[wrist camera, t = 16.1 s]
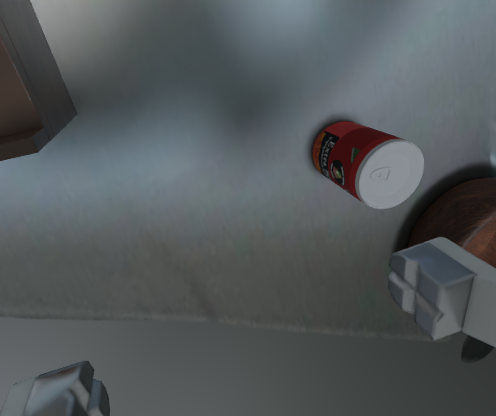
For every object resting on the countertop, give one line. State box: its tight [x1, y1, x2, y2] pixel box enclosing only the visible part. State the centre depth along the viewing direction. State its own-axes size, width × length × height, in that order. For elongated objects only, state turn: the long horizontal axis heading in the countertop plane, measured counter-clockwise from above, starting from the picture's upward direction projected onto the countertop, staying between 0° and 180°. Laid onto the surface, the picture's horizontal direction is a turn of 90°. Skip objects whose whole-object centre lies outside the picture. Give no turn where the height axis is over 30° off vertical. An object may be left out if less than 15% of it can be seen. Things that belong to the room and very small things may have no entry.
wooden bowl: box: [408, 177, 496, 268], centre depth 52 cm, size 25×25×10 cm
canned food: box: [312, 121, 424, 209], centre depth 38 cm, size 8×8×11 cm
